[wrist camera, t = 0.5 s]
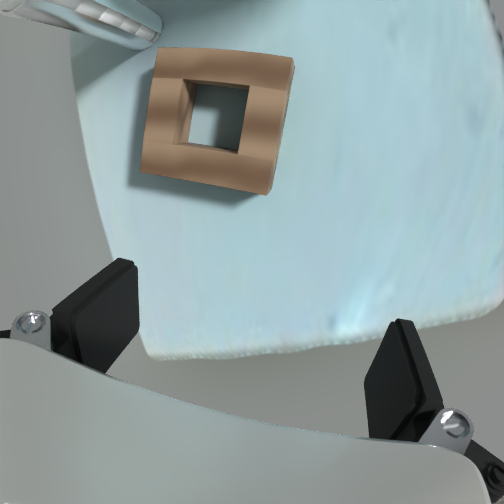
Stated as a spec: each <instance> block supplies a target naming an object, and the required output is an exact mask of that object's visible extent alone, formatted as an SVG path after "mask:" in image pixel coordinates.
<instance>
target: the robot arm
mask: <svg viewBox="0 0 504 504" xmlns="http://www.w3.org/2000/svg"><path fill="white" fill-rule="evenodd" d="M52 311H53V315H51V316H50V317H49V316H48V315H47V314H46V313H44V312H41V311H27V312H25V313H22V314H20V315H19V316H17V317H16V318H15V320H14V321H13V323H12V327H11V330H5V331H0V504H504V463H503V462H502V461H501V460H500V459H498V458H497V457H495V456H494V455H493V454H491V453H490V452H488V451H487V450H486V449H484V448H483V447H482V446H480V445H479V444H477V443H476V442H475V441H473V440H472V439H471V438H472V436H473V433H474V426H473V423H472V421H471V420H470V418H469V417H468V416H467V415H466V414H465V413H464V412H462V411H460V410H458V409H455V408H444V405H443V402H442V401H443V399H442V397H441V394H440V391H439V388H438V385H437V382H436V379H435V377H434V374H433V372H432V369H431V366H430V363H429V361H428V358H427V356H426V353H425V350H424V348H423V345H422V343H421V340H420V338H419V335H418V333H417V331H416V328H415V326H414V323H413V322H412V321H410V320H404V319H396V320H395V322H391V323H390V324H389V326H388V329H387V331H386V333H385V336H384V338H383V340H382V343H381V345H380V347H379V349H378V351H377V354H376V356H375V358H374V360H373V362H372V364H371V366H370V368H369V370H368V373H367V374H366V377H365V381H364V390H365V399H366V408H367V418H368V428H369V438H364V437H354V436H346V435H338V434H330V433H323V432H316V431H309V430H303V429H297V428H292V427H286V426H281V425H275V424H271V423H266V422H261V421H256V420H252V419H248V418H243V417H239V416H235V415H231V414H226V413H223V412H219V411H215V410H212V409H208V408H204V407H201V406H197V405H194V404H190V403H187V402H183V401H181V400H177V399H174V398H171V397H168V396H165V395H161V394H159V393H156V392H153V391H150V390H147V389H144V388H141V387H138V386H136V385H133V384H130V383H128V382H125V381H122V380H120V379H117V378H115V377H112V376H110V375H107V374H105V373H106V372H107V370H108V369H109V368H110V366H111V365H112V364H113V363H114V361H115V360H116V359H117V358H118V356H119V355H120V354H121V352H122V351H123V350H124V349H125V348H126V346H127V345H128V344H129V343H130V341H131V340H132V339H133V338H134V336H135V335H136V334H137V332H138V330H139V326H140V322H139V300H138V268H137V266H135V265H134V262H133V261H130V260H127V259H123V258H117V259H116V260H115V261H113V262H112V263H111V264H109V265H108V266H107V267H105V268H104V269H103V270H101V271H100V272H99V273H97V274H96V275H95V276H94V277H92V278H91V279H89V280H88V281H87V282H85V283H84V284H83V285H82V286H80V287H79V288H78V289H77V290H75V291H74V292H73V293H71V294H70V295H69V296H68V297H66V298H65V299H64V300H63V301H61V302H60V303H59V304H58V305H56V306H55V307H54V308H53V309H52Z"/></svg>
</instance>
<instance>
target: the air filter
mask: <svg viewBox="0 0 504 504" xmlns="http://www.w3.org/2000/svg"><path fill="white" fill-rule="evenodd" d="M0 13H1V14H2V15H6V16H12V17H17V18H22V19H27V20H32V21H36V22H41V23H45V24H49V25H53V26H58V27H62V28H65V29H68V30H72V31H76V32H79V33H83V34H86V35H89V36H93V37H96V38H99V39H102V40H105V41H108V42H111V43H114V44H117V45H120V46H123V47H126V48H129V49H131V50H137V51H139V50H144V49H146V48H148V47H150V46H151V45H152V44H154V43H155V41H156V40H157V39H158V38H159V36H160V34H161V31H162V20H161V18H160V16H159V15H158V14H156V13H155V12H153V11H152V10H150V9H149V8H147V7H145V6H144V5H142V4H141V3H139V2H137V1H136V0H0Z"/></svg>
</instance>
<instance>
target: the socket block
mask: <svg viewBox="0 0 504 504" xmlns="http://www.w3.org/2000/svg"><path fill="white" fill-rule="evenodd" d="M294 69H295V66H294V62H293V58H290V57H284V56H277V55H270V54H263V53H255V52H246V51H236V50H224V49H208V48H177V47H161V48H158V52H157V57H156V63H155V68H154V73H153V79H152V84H151V90H150V97H149V103H148V110H147V116H146V124H145V131H144V139H143V148H142V157H141V167H140V172H141V173H148V174H154V175H160V176H166V177H172V178H178V179H183V180H189V181H195V182H200V183H206V184H211V185H216V186H221V187H227V188H232V189H237V190H242V191H247V192H252V193H256V194H261V195H266V196H267V194H268V193H269V191H270V190H271V189H272V185H273V179H274V174H275V169H276V164H277V159H278V153H279V148H280V143H281V138H282V132H283V127H284V122H285V117H286V111H287V106H288V101H289V95H290V90H291V85H292V79H293V74H294ZM197 84H199V85H210V86H220V87H229V88H238V89H245V90H249V94H248V99H247V105H246V110H245V116H244V121H243V127H242V133H241V139H240V144H239V150H233V149H227V148H221V147H215V146H208V145H202V144H195V143H188V137H189V131H190V124H191V118H192V111H193V105H194V99H195V94H196V88H197Z"/></svg>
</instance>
